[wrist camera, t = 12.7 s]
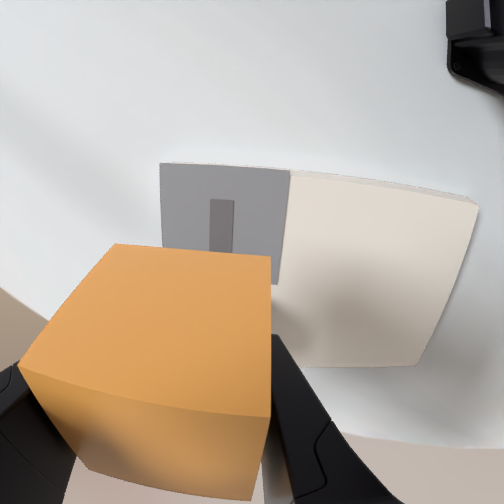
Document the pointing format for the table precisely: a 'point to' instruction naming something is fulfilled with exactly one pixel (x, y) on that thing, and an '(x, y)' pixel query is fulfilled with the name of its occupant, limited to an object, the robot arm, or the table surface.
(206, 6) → the table surface
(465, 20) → the robot arm
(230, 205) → the board
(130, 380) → the cap
